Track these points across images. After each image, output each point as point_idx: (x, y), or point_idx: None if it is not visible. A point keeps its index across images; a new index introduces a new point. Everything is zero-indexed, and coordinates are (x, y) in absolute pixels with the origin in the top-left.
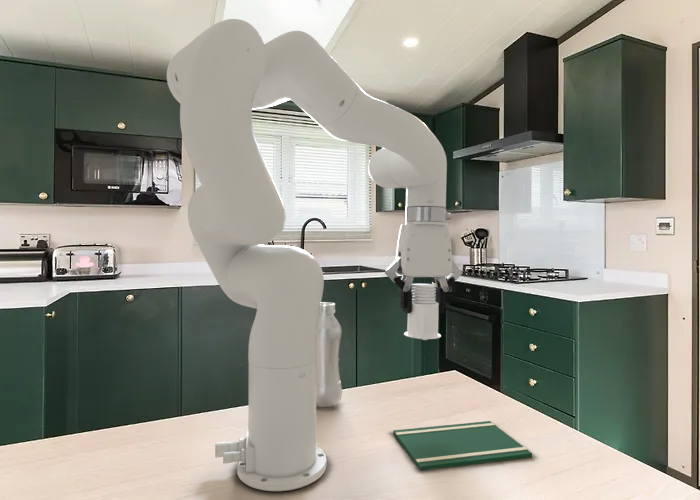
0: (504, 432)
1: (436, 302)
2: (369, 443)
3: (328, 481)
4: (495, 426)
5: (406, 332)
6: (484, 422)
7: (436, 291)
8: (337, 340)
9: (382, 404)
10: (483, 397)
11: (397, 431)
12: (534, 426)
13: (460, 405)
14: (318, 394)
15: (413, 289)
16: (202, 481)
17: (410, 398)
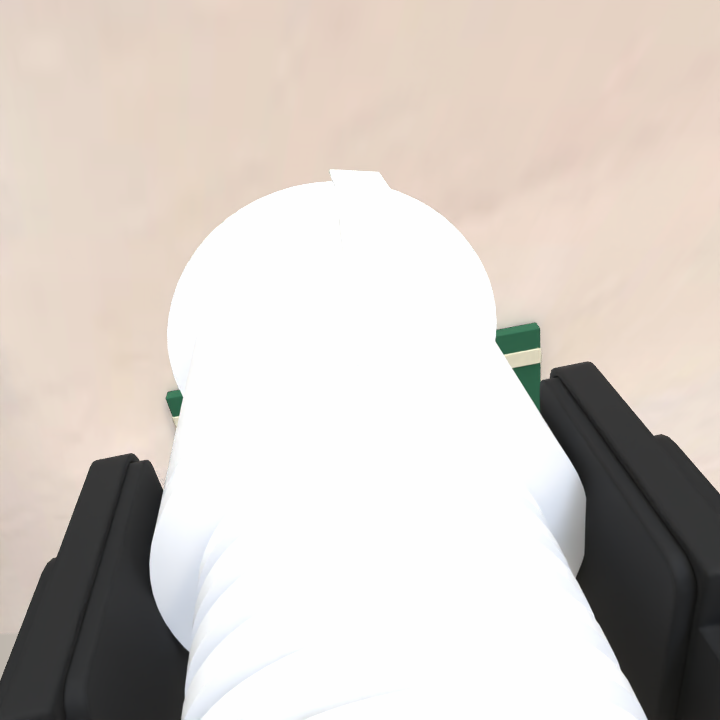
0: (539, 407)
1: (573, 532)
2: (87, 448)
3: (6, 599)
4: (535, 369)
5: (194, 285)
6: (514, 340)
7: (671, 642)
8: None
9: (116, 99)
10: (682, 14)
11: (180, 405)
12: (679, 336)
13: (511, 128)
14: None
15: None
16: None
17: (278, 10)
